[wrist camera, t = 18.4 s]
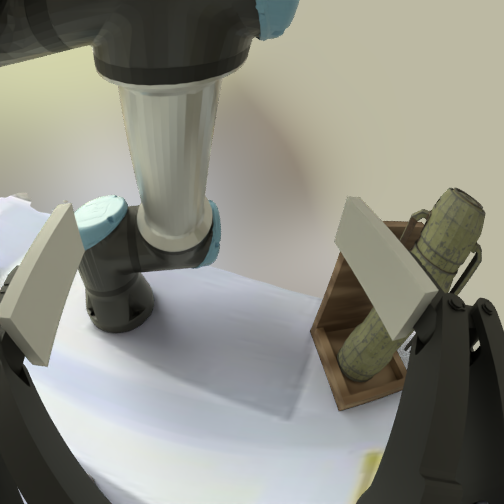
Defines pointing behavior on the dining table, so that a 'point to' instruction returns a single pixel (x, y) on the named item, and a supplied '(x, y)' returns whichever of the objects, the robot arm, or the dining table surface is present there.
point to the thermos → (435, 261)
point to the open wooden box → (344, 322)
